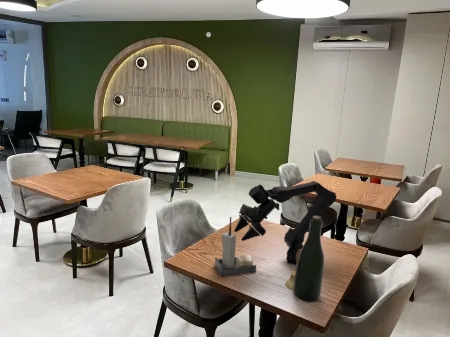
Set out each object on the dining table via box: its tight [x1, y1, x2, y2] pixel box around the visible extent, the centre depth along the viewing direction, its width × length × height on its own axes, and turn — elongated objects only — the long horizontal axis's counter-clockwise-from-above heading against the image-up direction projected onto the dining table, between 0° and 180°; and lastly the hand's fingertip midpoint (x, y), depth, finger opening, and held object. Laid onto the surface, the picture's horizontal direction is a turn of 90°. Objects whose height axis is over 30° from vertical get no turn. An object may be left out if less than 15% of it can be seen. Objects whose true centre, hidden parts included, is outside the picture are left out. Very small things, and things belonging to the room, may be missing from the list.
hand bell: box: [284, 249, 301, 291], centre depth 136 cm, size 8×8×16 cm
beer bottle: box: [292, 215, 325, 303], centre depth 127 cm, size 10×10×33 cm
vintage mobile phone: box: [221, 216, 237, 269], centre depth 145 cm, size 4×5×25 cm
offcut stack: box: [235, 254, 254, 267], centre depth 149 cm, size 6×6×5 cm
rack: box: [214, 256, 257, 277], centre depth 148 cm, size 16×9×4 cm, turn 108°
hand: (238, 235), depth 145 cm, fingers open, 9 cm apart
